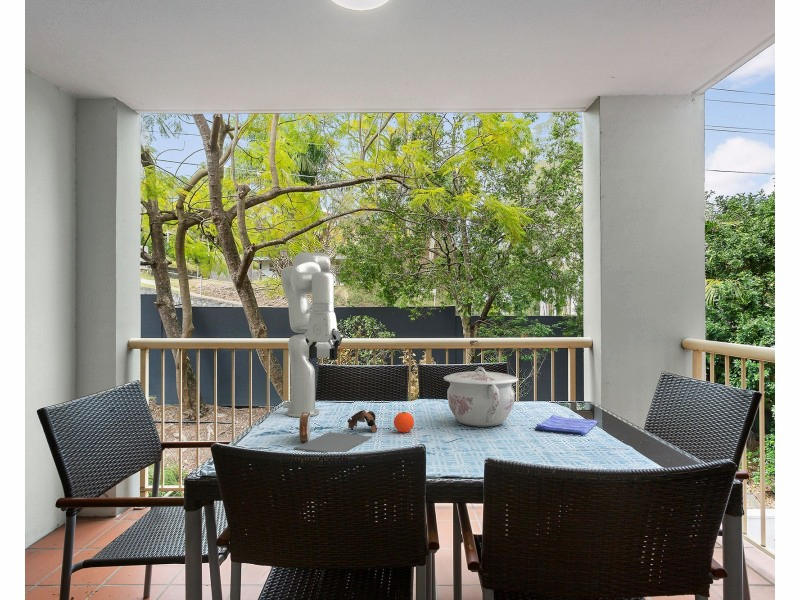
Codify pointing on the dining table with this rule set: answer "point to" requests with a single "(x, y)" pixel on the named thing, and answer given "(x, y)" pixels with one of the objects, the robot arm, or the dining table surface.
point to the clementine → (403, 422)
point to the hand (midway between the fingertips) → (323, 359)
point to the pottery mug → (363, 419)
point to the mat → (333, 442)
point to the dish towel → (566, 425)
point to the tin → (304, 427)
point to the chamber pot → (481, 397)
